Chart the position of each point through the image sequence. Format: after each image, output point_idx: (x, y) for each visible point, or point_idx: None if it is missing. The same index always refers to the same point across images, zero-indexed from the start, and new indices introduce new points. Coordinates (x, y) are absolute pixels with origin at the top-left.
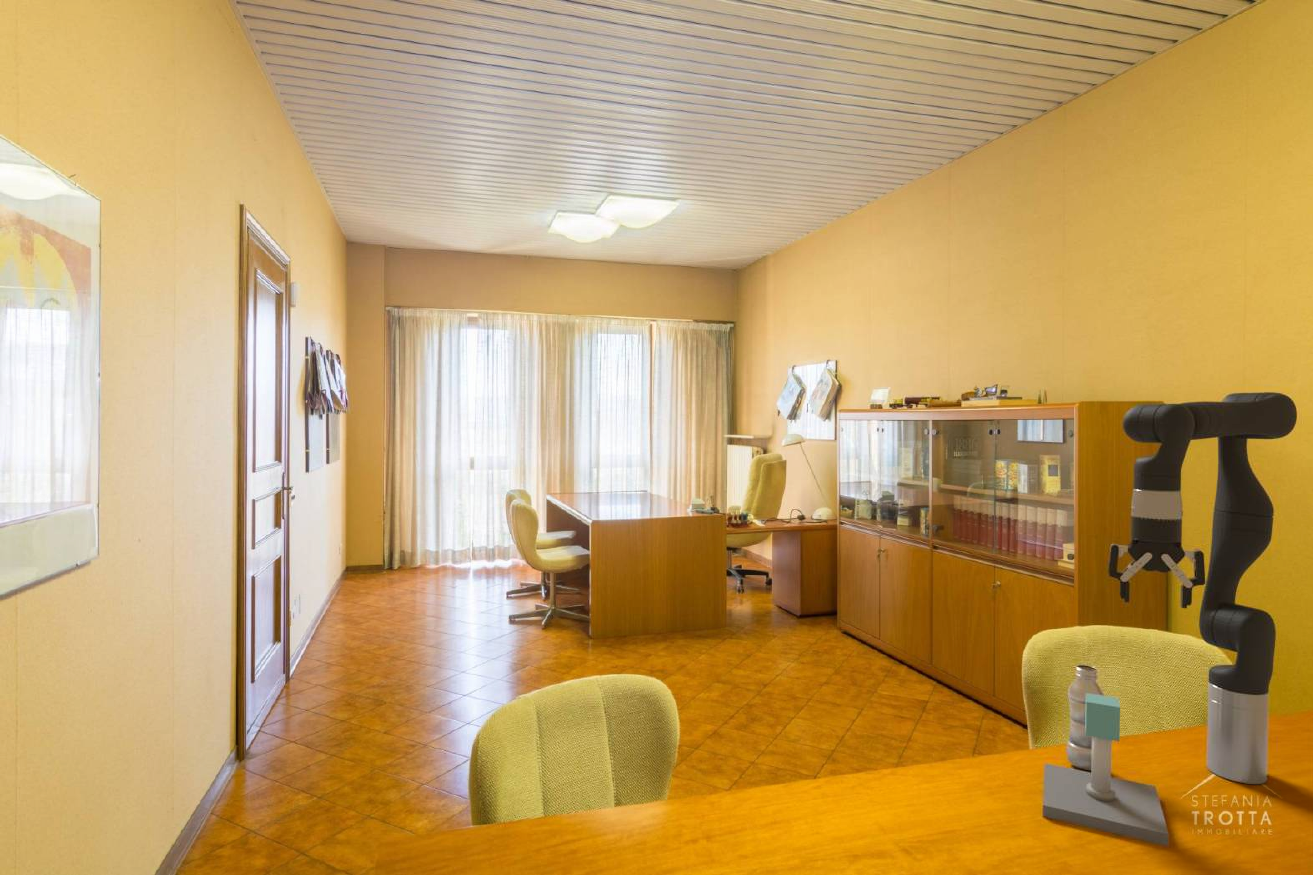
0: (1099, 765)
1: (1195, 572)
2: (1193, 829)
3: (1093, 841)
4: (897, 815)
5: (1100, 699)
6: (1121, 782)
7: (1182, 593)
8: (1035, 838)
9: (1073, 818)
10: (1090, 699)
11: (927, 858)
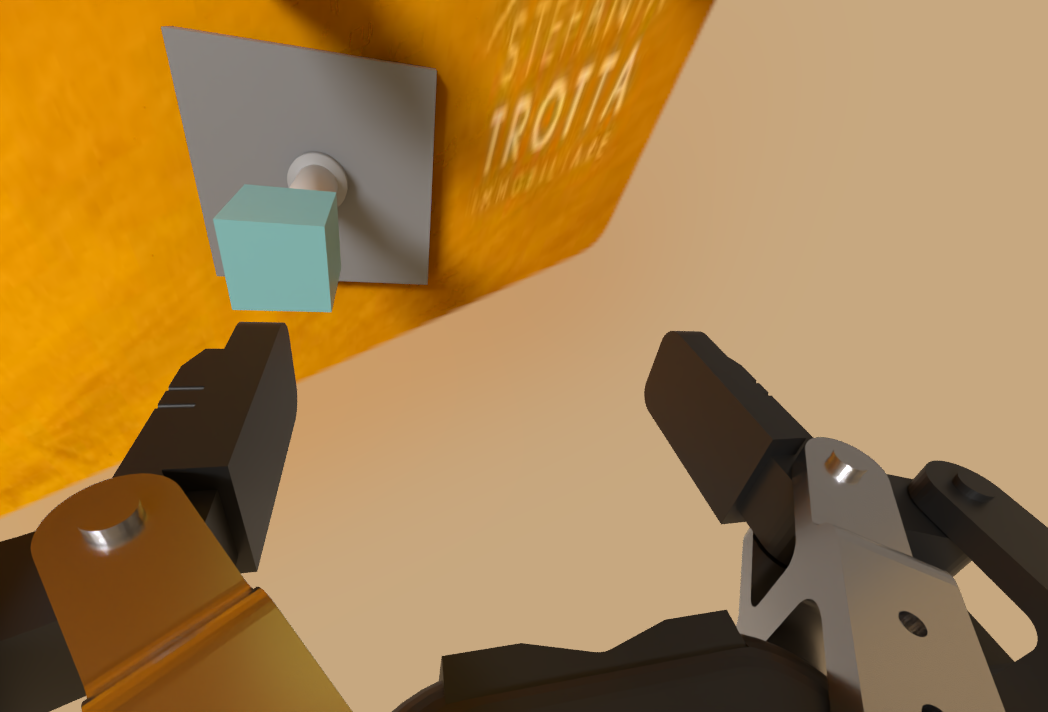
0: None
1: (1007, 589)
2: (477, 196)
3: None
4: None
5: (270, 268)
6: (363, 81)
7: (696, 474)
8: None
9: None
10: (240, 281)
11: (103, 455)
